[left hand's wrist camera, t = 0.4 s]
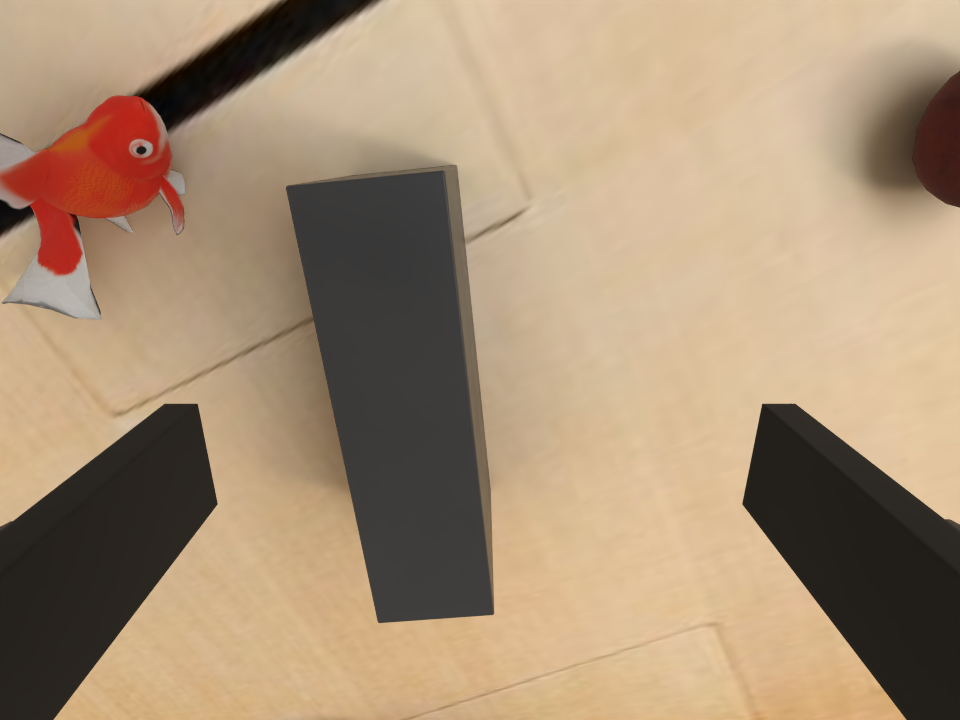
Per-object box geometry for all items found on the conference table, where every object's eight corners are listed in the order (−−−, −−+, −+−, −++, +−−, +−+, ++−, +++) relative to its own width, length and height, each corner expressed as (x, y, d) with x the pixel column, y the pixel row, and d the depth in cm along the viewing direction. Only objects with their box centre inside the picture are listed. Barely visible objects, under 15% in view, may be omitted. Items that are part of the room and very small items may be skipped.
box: (350, 175, 32) (284, 186, 21) (457, 165, 32) (444, 170, 21) (405, 499, 40) (377, 623, 29) (490, 492, 40) (494, 615, 29)
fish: (273, 276, 29) (56, 279, 21) (130, 335, 38) (-67, 354, 29) (225, 80, 29) (-14, 2, 20) (92, 182, 37) (-118, 156, 29)
